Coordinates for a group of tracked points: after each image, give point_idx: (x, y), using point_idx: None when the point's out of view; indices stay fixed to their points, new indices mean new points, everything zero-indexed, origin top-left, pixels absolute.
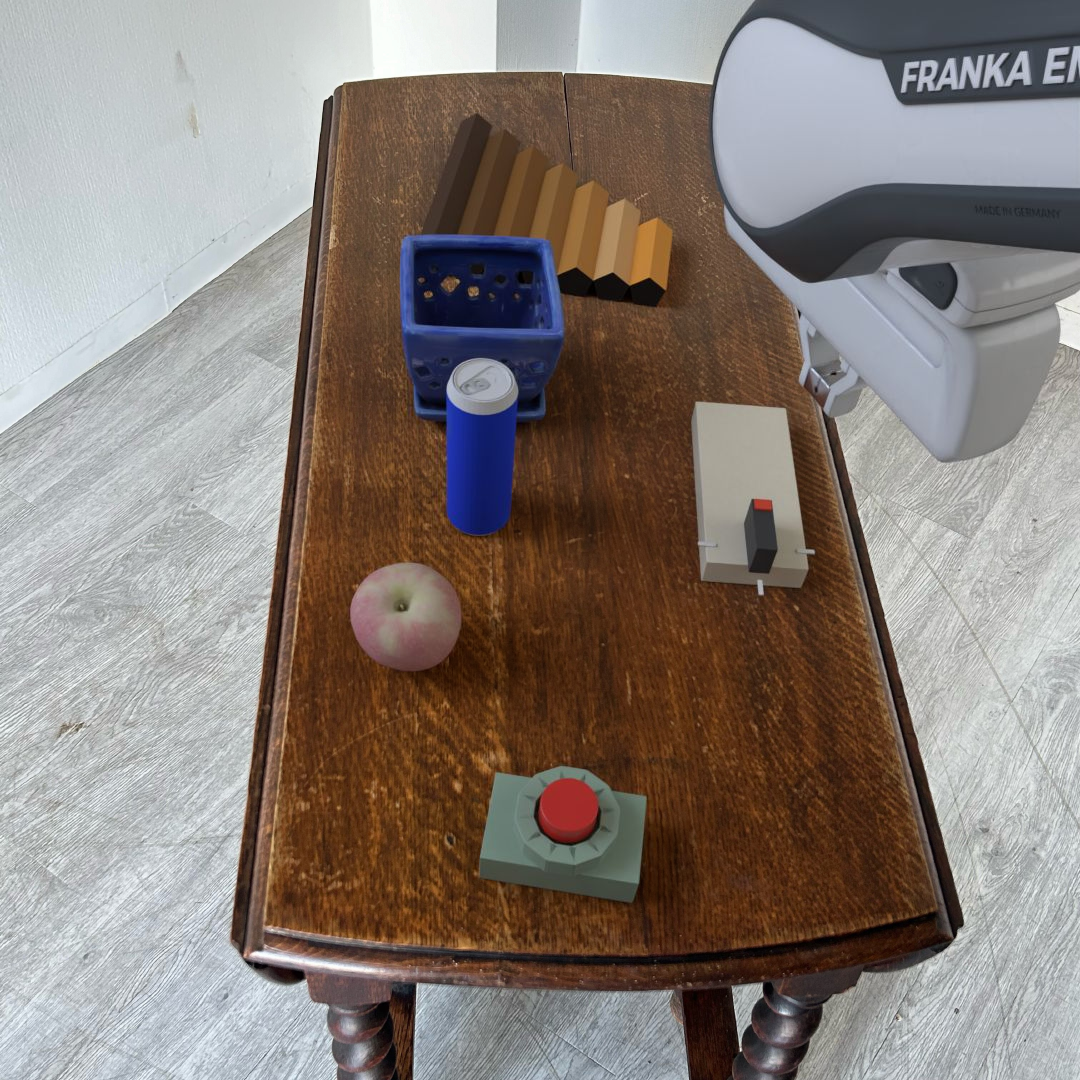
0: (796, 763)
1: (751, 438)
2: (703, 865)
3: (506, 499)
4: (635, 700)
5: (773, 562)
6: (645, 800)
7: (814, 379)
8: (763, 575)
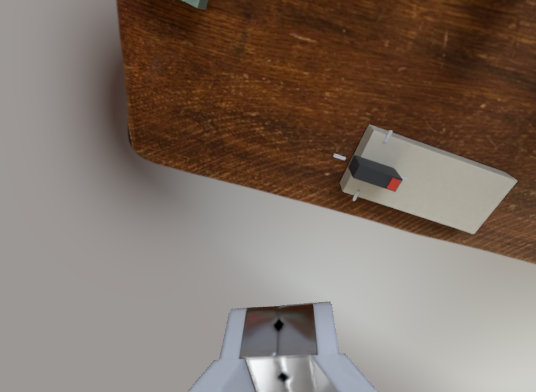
0: (225, 128)
1: (461, 203)
2: (169, 43)
3: None
4: (292, 39)
5: None
6: (194, 5)
7: (290, 339)
8: None
